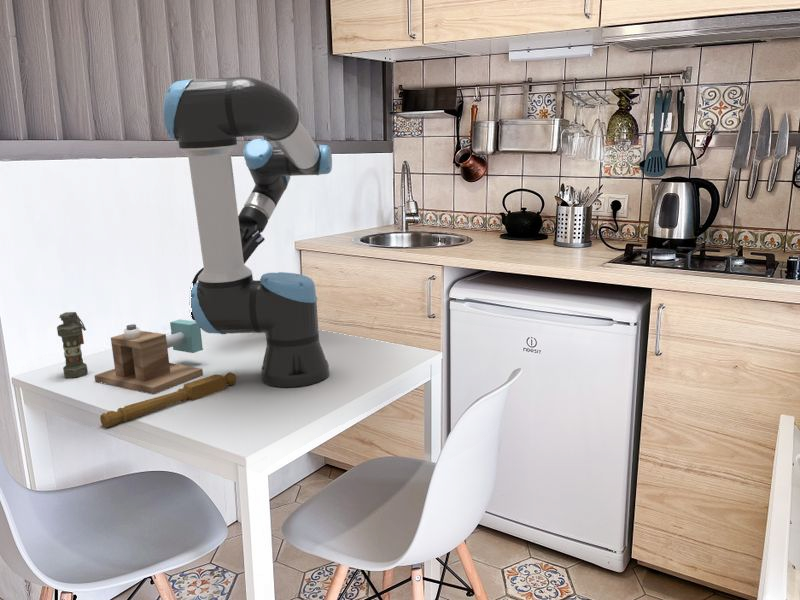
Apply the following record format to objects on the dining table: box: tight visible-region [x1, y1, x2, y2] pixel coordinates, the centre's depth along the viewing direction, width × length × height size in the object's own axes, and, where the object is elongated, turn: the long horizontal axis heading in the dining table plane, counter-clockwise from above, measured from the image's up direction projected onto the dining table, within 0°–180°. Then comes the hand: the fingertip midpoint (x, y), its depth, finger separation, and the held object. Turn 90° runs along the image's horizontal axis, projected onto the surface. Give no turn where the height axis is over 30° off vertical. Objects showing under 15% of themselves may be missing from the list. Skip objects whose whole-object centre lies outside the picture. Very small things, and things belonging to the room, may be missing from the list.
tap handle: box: [99, 372, 238, 429], centre depth 138 cm, size 3×3×30 cm
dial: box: [123, 323, 141, 340], centre depth 150 cm, size 3×3×3 cm
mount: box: [94, 330, 204, 395], centre depth 154 cm, size 20×14×10 cm
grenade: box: [56, 311, 88, 379], centre depth 159 cm, size 6×6×15 cm
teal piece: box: [166, 319, 204, 354], centre depth 160 cm, size 7×12×7 cm, turn 149°
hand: (216, 287), depth 171 cm, fingers closed
